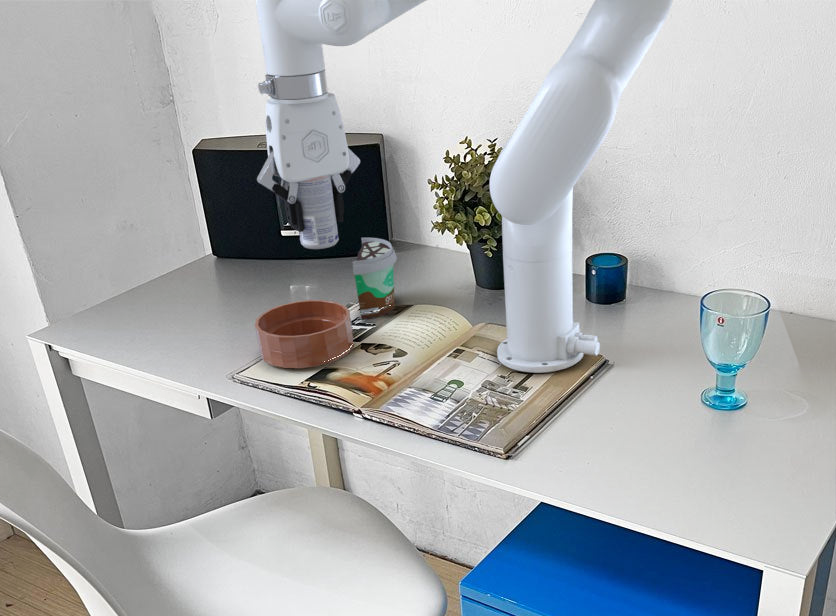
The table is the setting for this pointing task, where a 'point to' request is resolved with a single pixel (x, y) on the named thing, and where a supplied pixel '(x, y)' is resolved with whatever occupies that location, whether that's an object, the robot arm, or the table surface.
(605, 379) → the table surface
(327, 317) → the bowl
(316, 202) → the energy drink
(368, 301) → the food container
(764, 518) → the table surface
